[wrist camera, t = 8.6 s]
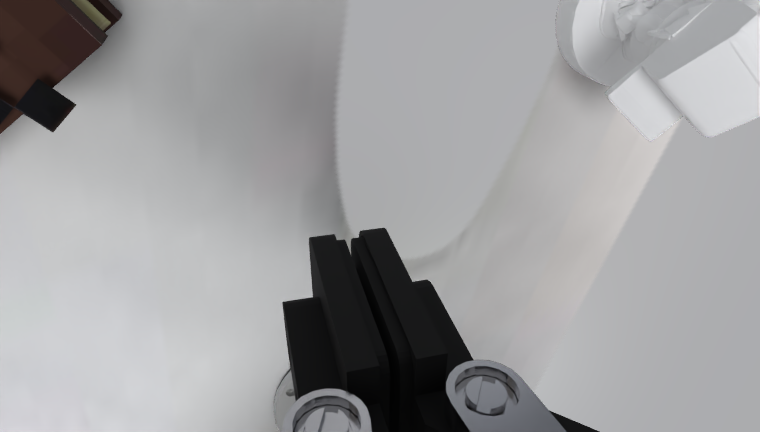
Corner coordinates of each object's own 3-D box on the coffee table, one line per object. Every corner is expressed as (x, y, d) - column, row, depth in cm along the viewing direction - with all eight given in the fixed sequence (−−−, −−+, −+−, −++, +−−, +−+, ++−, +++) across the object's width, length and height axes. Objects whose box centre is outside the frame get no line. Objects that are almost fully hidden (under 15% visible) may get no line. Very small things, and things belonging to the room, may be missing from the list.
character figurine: (697, 2, 37) (876, 48, 27) (593, 114, 39) (722, 193, 29) (629, -95, 32) (813, -83, 22) (517, 38, 35) (639, 101, 25)
